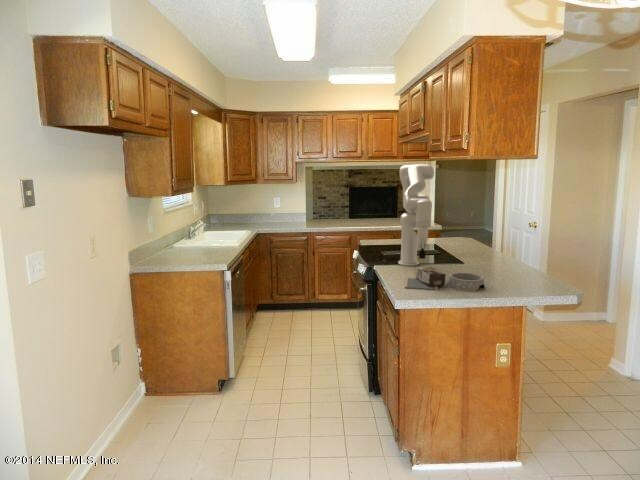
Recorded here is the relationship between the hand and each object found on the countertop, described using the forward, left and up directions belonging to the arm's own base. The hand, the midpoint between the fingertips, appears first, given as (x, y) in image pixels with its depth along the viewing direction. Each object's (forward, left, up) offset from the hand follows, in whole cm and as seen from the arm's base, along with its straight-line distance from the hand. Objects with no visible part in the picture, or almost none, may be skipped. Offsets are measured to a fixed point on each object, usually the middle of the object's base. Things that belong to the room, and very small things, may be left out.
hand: (422, 258), depth 240 cm
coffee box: (-2, +1, -8) cm, 9 cm away
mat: (+8, 0, -12) cm, 15 cm away
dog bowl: (+6, +22, -13) cm, 26 cm away
